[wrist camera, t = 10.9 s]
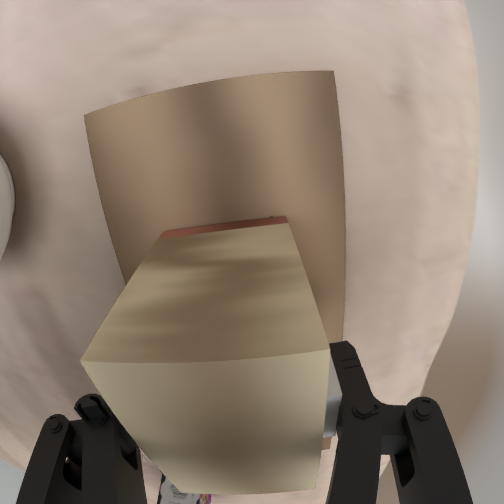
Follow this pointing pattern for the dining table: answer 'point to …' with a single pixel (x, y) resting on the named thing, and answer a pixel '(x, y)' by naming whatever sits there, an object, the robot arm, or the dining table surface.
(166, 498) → the candy bar box
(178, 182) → the board
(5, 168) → the lidded jar
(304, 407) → the block
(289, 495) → the dining table surface
